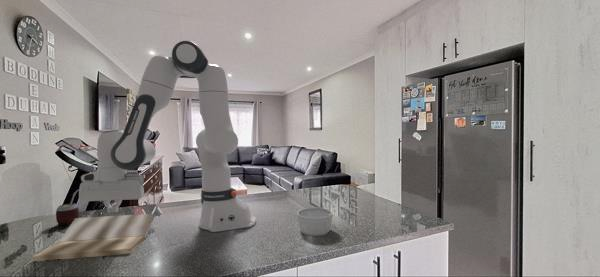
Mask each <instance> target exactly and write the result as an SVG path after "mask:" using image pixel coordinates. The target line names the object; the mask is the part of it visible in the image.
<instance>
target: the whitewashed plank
mask: <svg viewBox="0 0 600 277" xmlns="http://www.w3.org/2000/svg"><path fill="white" fill-rule="evenodd" d="M154 217H155V215H154V213H141V214H139V213H138V214H127V215H126V214H124V215H122V214H121V215H109V216H106V215H104V216H93V217H89V216H88V217H78V218H75V219H74V221H73V222H72V223H71V224H70V226H68V227H67V229H66V231H64V233H63V234H62V236H61V238H60V239H59V240H58V242H68V241H81V240H95V239H109V238H122V237H136V236H144V240H145V239H146V237H147V236H148V233H149V230H150V227H151V225H152V223H153V220H154Z"/></svg>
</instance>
